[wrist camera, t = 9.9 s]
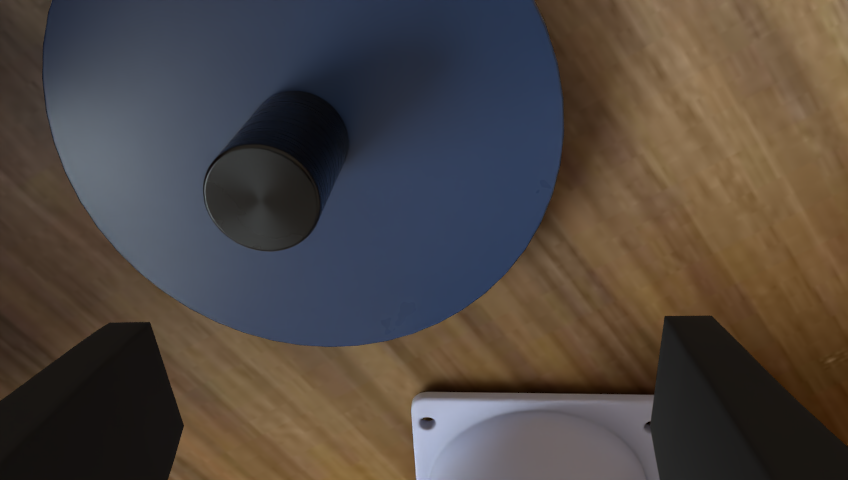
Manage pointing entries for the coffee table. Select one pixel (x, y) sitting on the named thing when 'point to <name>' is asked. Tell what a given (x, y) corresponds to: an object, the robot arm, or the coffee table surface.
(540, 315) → the coffee table surface
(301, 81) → the lid
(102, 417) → the robot arm
